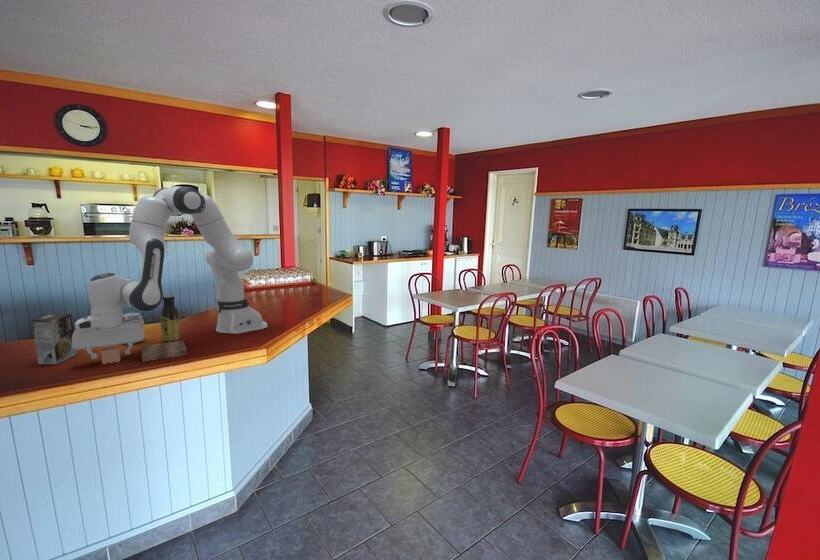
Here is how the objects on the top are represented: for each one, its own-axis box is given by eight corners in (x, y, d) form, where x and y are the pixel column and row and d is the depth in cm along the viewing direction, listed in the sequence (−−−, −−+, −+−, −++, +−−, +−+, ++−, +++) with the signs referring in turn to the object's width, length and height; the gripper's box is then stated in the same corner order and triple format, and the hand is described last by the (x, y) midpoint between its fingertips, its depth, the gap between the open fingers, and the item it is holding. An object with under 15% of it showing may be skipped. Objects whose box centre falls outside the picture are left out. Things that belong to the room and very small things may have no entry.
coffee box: (58, 355, 141) (53, 313, 139) (77, 355, 142) (72, 313, 139) (37, 364, 132) (30, 319, 130) (56, 364, 133) (51, 319, 130)
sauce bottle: (160, 342, 158) (156, 295, 155) (177, 338, 163) (174, 293, 160) (165, 346, 154) (161, 298, 151) (182, 342, 159) (179, 296, 155)
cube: (120, 357, 141) (119, 344, 140) (120, 362, 137) (119, 348, 136) (103, 360, 138) (102, 347, 137) (102, 364, 134) (101, 351, 133)
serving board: (184, 345, 156) (183, 340, 155) (187, 354, 145) (186, 349, 145) (142, 351, 148) (141, 346, 147) (142, 361, 137) (141, 356, 137)
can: (132, 345, 153) (130, 316, 151) (117, 344, 155) (114, 315, 153) (148, 340, 161) (146, 312, 159) (134, 338, 162) (131, 311, 160)
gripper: (143, 313, 143) (146, 349, 145) (71, 320, 132) (75, 359, 134) (143, 317, 138) (146, 354, 140) (68, 325, 126) (73, 364, 129)
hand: (111, 356), depth 137 cm, fingers open, 8 cm apart
